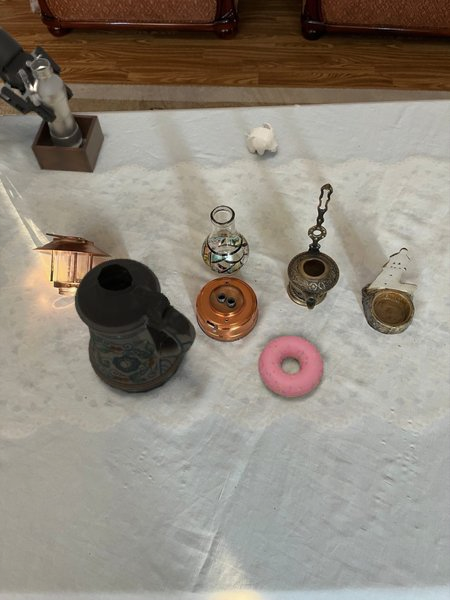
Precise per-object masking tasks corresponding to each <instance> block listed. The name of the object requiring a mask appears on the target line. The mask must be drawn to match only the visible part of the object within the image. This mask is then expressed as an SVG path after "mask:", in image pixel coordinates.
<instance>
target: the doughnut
mask: <svg viewBox="0 0 450 600" xmlns="http://www.w3.org/2000/svg"><path fill="white" fill-rule="evenodd" d="M287 358H288V359H289V358H292V359H294V360H296V361H298V363H299V365H300V366H299V370H298V371H296V372H292V373H288V372H285V370H283V368H282V361H284V359H287ZM257 367H258V373H259V375H260V379H261V380H262V382H263V383H264V384H265V386H266V387H267V388H268V389H270V390H271V391H272V392H273V393H275V394H277V395H280V396H282V397H287V398H295V397H300V396H304V395H306V394H308V393H311V391H313V390H314V389H315V388H317V386H318V385H319V383H320V382H321V380H322V377H323V374H324V360H323V358H322V354H321V352H320V351H319V350H318V349H317V346H315V345H314V344H313V343H312V342H310V340H307V339H306V338H303V337H302V336H298V335H282V336H278V337H275V338H274V339H272V340H271V341H269V342H268V343H267V344H266V345H265V346H264V347H263V348H262V351H261V352H260V354H259V357H258V364H257Z"/></svg>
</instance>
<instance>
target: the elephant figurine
mask: <svg viewBox="0 0 450 600" xmlns="http://www.w3.org/2000/svg"><path fill="white" fill-rule="evenodd" d="M262 126H263V127H262ZM262 126H257V127H255V128H253V129H252V130H251V132H250V133H249V134H248V133H246V132H244V134H245V135H246V136H247V139H246V145H247V148H248V150H249V152H250V153H252V154H253V153H256V152H257V155H259V156H263V155H264V154H265V151H269V152H271V153H275V152H276V151H277V150H278V149H277V148H278V146H279V145H278V141H277V138H276V134H275V129H274V127H273V125H271V124H270V123H268V122H263V123H262Z"/></svg>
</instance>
